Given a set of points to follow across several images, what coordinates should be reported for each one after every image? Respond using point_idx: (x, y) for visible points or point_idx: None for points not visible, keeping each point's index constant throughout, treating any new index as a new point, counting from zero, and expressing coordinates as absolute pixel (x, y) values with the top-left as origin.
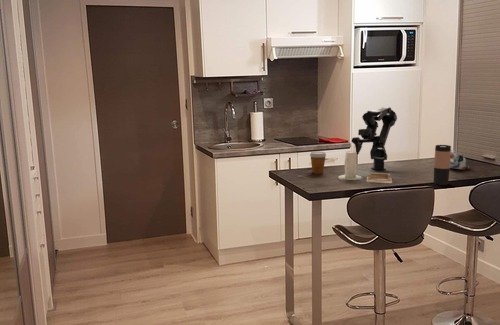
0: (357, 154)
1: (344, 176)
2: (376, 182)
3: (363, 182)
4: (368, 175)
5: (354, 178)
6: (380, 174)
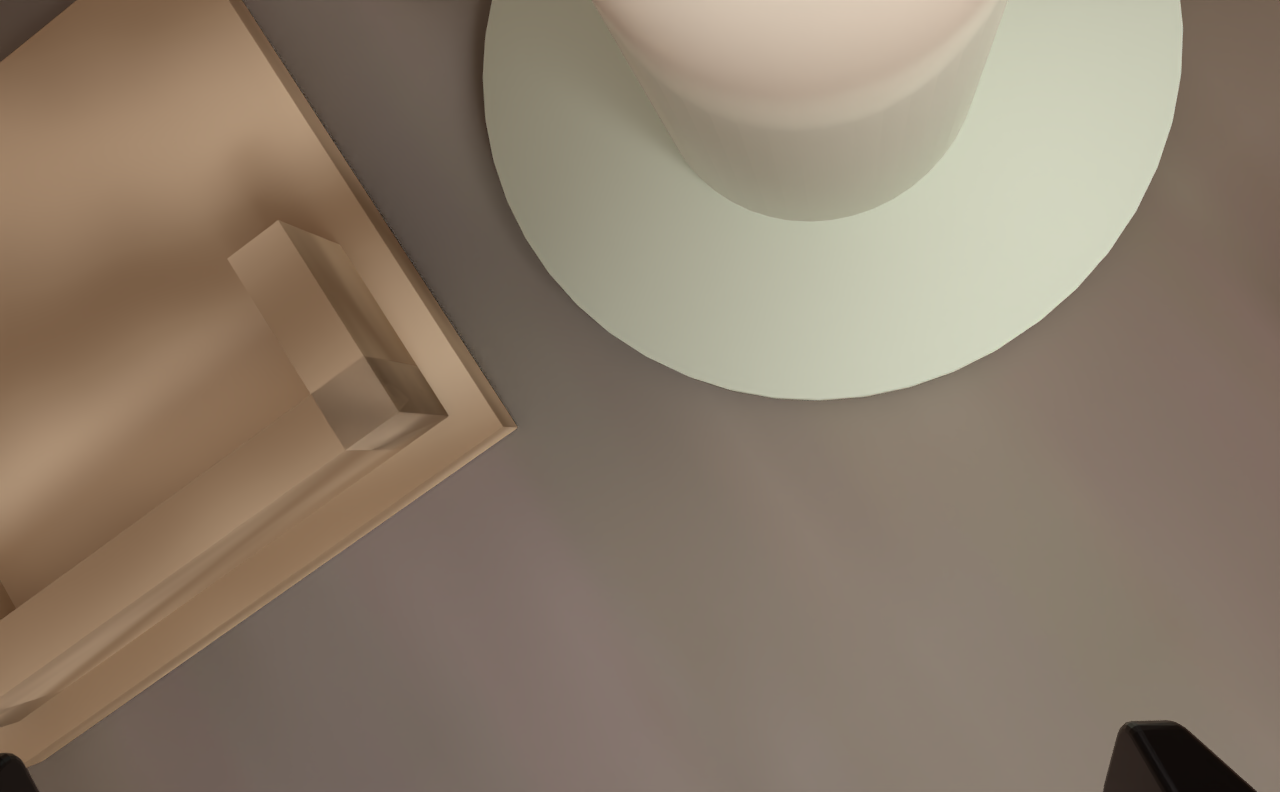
0: (1121, 768)
1: None
2: (1, 64)
3: (341, 14)
4: (292, 226)
5: None
6: (107, 550)
